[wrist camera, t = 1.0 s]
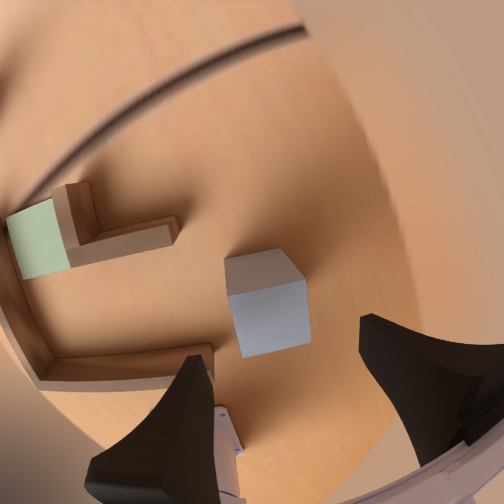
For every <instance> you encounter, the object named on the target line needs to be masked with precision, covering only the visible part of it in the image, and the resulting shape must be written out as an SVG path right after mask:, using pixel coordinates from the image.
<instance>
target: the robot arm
mask: <svg viewBox="0 0 504 504" xmlns="http://www.w3.org/2000/svg"><path fill="white" fill-rule="evenodd" d="M359 353H360V355H361V357H362V359H363V361H364V363H365V365H366V367H367V368H368V370H369V371H370V373H371V374H372V375H373V377H374V378H375V380H376V381H377V382H378V384H379V385H380V386H381V388H382V389H383V391H384V392H385V393H386V395H387V396H388V397H389V399H390V400H391V402H392V404H393V405H394V407H395V409H396V411H397V412H398V414H399V416H400V418H401V420H402V422H403V424H404V426H405V428H406V431H407V433H408V435H409V437H410V440H411V442H412V445H413V447H414V449H415V452H416V455H417V458H418V461H419V464H420V467H421V468H419V469H418V470H416V471H414V472H412V473H410V474H408V475H406V476H404V477H402V478H401V479H399V480H396V481H394V482H392V483H390V484H388V485H386V486H384V487H381V488H379V489H377V490H374V491H372V492H370V493H367V494H365V495H362V496H360V497H357V498H354V499H351V500H349V501H346V502H343V503H340V504H477V503H476V501H475V500H474V498H473V497H472V496H473V495H474V494H475V493H477V492H478V491H479V490H480V489H481V488H483V487H484V486H485V485H486V484H487V483H489V482H490V481H491V480H492V479H493V478H494V477H495V476H496V475H497V474H498V473H500V472H501V471H502V470H503V469H504V344H495V345H473V344H463V343H456V342H450V341H445V340H440V339H437V338H433V337H430V336H426V335H424V334H421V333H418V332H415V331H413V330H410V329H407V328H405V327H403V326H400V325H398V324H396V323H393V322H391V321H389V320H387V319H384V318H382V317H380V316H377V315H375V314H372V313H371V314H368V315H365V316H362V317H360V333H359ZM243 454H244V451H243V448H242V446H241V444H240V441H239V439H238V436H237V434H236V432H235V429H234V427H233V424H232V422H231V419H230V416H229V414H228V411H227V409H226V408H225V407H223V406H219V407H215V404H214V394H213V386H212V383H211V381H210V378H209V375H208V373H207V370H206V367H205V364H204V361H203V359H202V356H201V354H198V355H191V356H187V357H186V359H185V361H184V362H183V364H182V366H181V368H180V370H179V371H178V373H177V375H176V377H175V378H174V380H173V381H172V383H171V385H170V386H169V388H168V389H167V391H166V392H165V394H164V395H163V397H162V398H161V400H160V401H159V402H158V404H157V405H156V406H155V408H154V409H153V410H152V411H151V412H150V414H149V415H148V416H147V417H146V418H145V419H144V420H143V421H142V422H141V423H140V424H139V425H138V426H137V427H136V428H135V429H134V430H132V431H131V432H130V433H129V434H128V435H127V436H125V437H124V438H123V439H122V440H120V441H119V442H118V443H116V444H115V445H113V446H112V447H110V448H109V449H107V450H106V451H104V452H102V453H100V454H99V455H97V456H95V457H93V458H92V459H91V462H90V465H89V468H88V472H87V475H86V479H85V483H84V487H85V489H86V490H87V492H88V493H89V494H91V495H92V496H93V497H94V498H96V499H97V500H98V501H100V502H101V503H103V504H246V499H245V498H240V488H239V481H238V472H237V464H236V456H240V455H243Z"/></svg>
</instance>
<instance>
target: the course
mask: <svg viewBox="0 0 504 504" xmlns="http://www.w3.org/2000/svg"><path fill="white" fill-rule="evenodd" d="M51 195H52V200H53V205H54V209H55V214H56V218H57V222H58V226H59V230H60V234H61V237H62V241H63V244H64V248H65V251H66V254H67V258H68V261H69V264H70V267H71V268H74V267H78V266H83V265H87V264H91V263H95V262H100V261H104V260H108V259H113V258H117V257H122V256H126V255H130V254H135V253H139V252H144V251H149V250H153V249H158V248H162V247H167V246H172V245H173V244H174V242H175V240H176V239H177V237H178V235H179V233H180V228H179V223H178V219H177V215H172V216H168V217H163V218H159V219H155V220H150V221H146V222H142V223H138V224H134V225H130V226H126V227H122V228H118V229H114V230H110V231H106V232H103V233H101V231H100V227H99V224H98V220H97V215H96V211H95V207H94V202H93V198H92V193H91V188H90V183H89V181H87V182H80V183H73V184H66V185H63V186H60V187H58V188H55V189H53V190H51ZM0 324H1V326H2V328H3V330H4V332H5V334H6V336H7V338H8V340H9V342H10V344H11V346H12V348H13V349H14V351H15V353H16V355H17V357H18V358H19V360H20V362H21V364H22V365H23V367H24V369H25V370H26V372H27V374H28V375H29V377H30V378H31V380H32V381H33V383H34V384H35V386H36V387H37V389H38V390H43V391H60V392H124V391H142V390H155V389H166V388H169V386H170V385H171V383H172V381H173V380H174V378H175V377H176V375H177V373H178V371H179V370H180V368H181V366H182V364H183V362H184V361H185V359H186V357H187V356H191V355H198V354H201V356H202V359H203V361H204V364H205V367H206V370H207V373H208V375H209V378H210V381H211V383H213V382H214V353H213V349H212V346H211V343H210V342H208V343H203V344H197V345H190V346H184V347H177V348H170V349H163V350H155V351H147V352H139V353H130V354H120V355H109V356H97V357H82V358H63V359H54V357H53V355H52V354H51V352H50V350H49V348H48V346H47V344H46V342H45V340H44V338H43V336H42V334H41V332H40V330H39V328H38V326H37V324H36V322H35V320H34V317H33V315H32V313H31V311H30V308H29V306H28V303H27V301H26V299H25V296H24V293H23V291H22V288H21V286H20V283H19V280H18V277H17V274H16V272H15V269H14V266H13V262H12V259H11V256H10V253H9V249H8V246H7V242H6V238H5V234H4V230H3V226H2V222H1V218H0Z"/></svg>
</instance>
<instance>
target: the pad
mask: <svg viewBox="0 0 504 504" xmlns="http://www.w3.org/2000/svg"><path fill="white" fill-rule="evenodd" d="M6 222H7V227H8V231H9V235H10V238H11V242H12V246H13V249H14V253H15V256H16V259H17V262H18V266H19V269H20V272H21V274H22V277H23V280H26V279H30V278H34V277H38V276H42V275H46V274H50V273H54V272H58V271H62V270H67V269H71V267H70V264H69V261H68V258H67V254H66V251H65V248H64V244H63V241H62V237H61V234H60V230H59V226H58V222H57V218H56V214H55V209H54V205H53V200H52V198H51V199H48V200H46V201H43V202H41V203H38V204H36V205H34V206H31V207H29V208H27V209H24V210H22V211H20V212H18V213H15V214H13V215H11V216H9V217H7V218H6ZM78 267H79V266H78ZM74 268H75V267H74Z"/></svg>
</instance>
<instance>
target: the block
mask: <svg viewBox="0 0 504 504" xmlns="http://www.w3.org/2000/svg"><path fill="white" fill-rule="evenodd" d="M224 265H225V276H226V286H227V296H228V301H229V305H230V309H231V313H232V318H233V322H234V326H235V330H236V334H237V338H238V342H239V346H240V350H241V354H242V358H246V357H251V356H256V355H261V354H265V353H270V352H274V351H279V350H283V349H287V348H291V347H295V346H299V345H303V344H307V343H311V329H310V317H309V306H308V295H307V285H306V279H305V278H304V276H303V275H302V274H301V273H300V271H299V270H298V269H297V268H296V266H295V265H294V264H293V263H292V261H291V260H290V259H289V258H288V257H287V255H286V254H285V253H284V252H283V250H282V249H281V248H276V249H271V250H266V251H261V252H256V253H251V254H246V255H241V256H237V257H232V258H227V259H224Z"/></svg>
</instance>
